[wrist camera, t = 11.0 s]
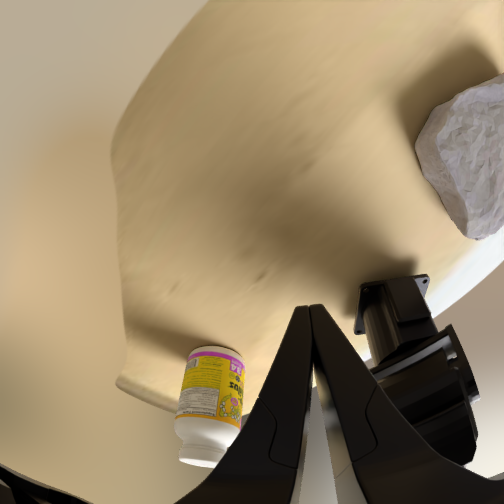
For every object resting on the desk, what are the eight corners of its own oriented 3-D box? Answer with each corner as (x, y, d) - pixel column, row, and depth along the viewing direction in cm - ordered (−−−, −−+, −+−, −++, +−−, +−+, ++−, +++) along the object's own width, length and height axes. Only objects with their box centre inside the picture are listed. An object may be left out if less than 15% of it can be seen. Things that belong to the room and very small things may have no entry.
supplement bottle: (247, 373, 32) (240, 471, 22) (195, 370, 33) (179, 464, 22) (243, 343, 28) (233, 462, 18) (182, 341, 29) (158, 451, 18)
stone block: (388, 132, 16) (453, 233, 18) (414, 139, 12) (481, 262, 14) (479, 54, 11) (531, 155, 13) (514, 48, 7) (564, 169, 9)
